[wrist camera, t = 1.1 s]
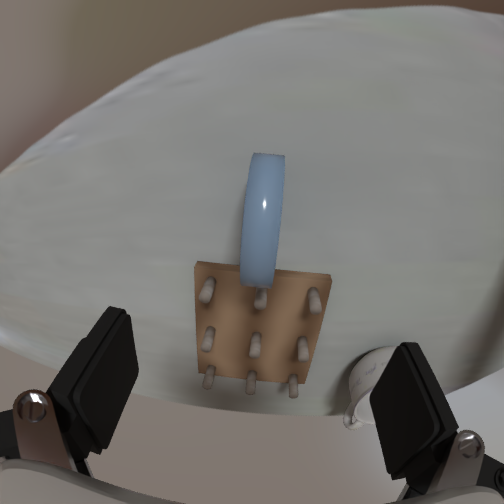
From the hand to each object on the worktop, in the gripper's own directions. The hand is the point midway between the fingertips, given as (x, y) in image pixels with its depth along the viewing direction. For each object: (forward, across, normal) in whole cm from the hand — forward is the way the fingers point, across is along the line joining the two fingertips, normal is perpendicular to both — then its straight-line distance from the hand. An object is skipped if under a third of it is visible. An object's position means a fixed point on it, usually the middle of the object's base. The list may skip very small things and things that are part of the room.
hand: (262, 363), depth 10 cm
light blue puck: (+22, 0, 0) cm, 22 cm away
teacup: (+22, -19, +22) cm, 37 cm away
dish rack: (+22, -1, +16) cm, 28 cm away
